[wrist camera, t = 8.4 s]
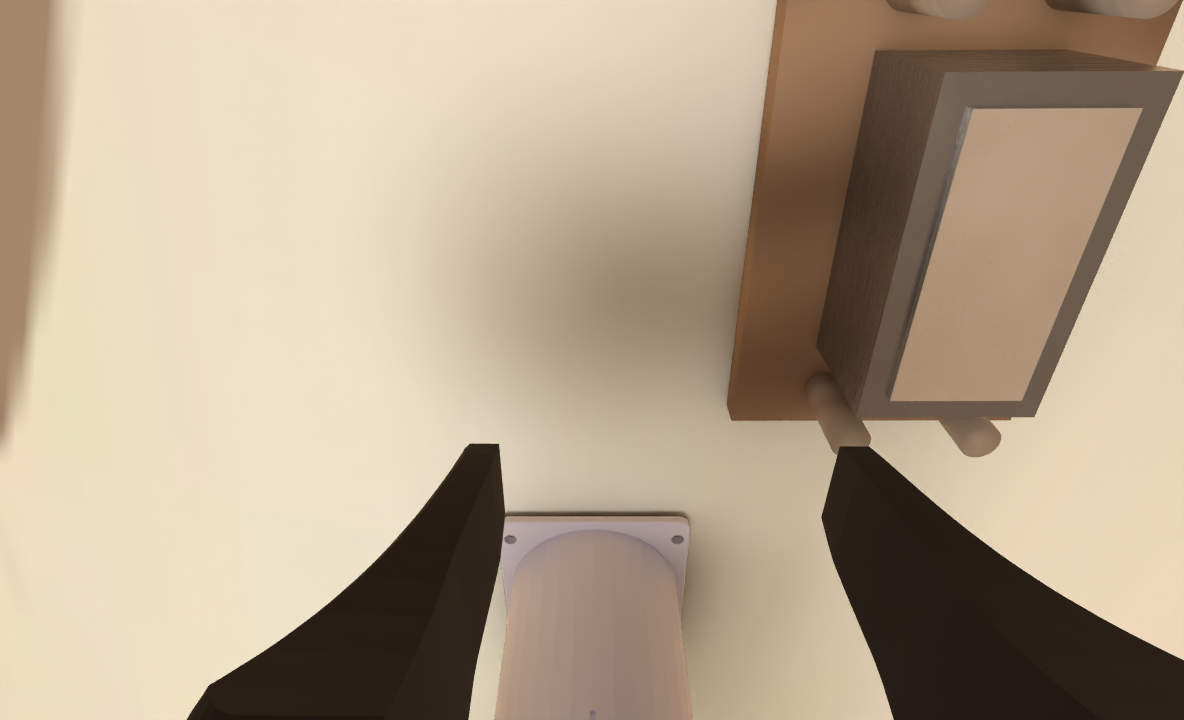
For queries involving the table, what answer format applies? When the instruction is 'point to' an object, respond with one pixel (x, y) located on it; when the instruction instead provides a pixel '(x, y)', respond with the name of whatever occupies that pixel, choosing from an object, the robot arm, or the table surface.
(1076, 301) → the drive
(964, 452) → the pegged wooden board
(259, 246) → the table surface
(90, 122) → the table surface
